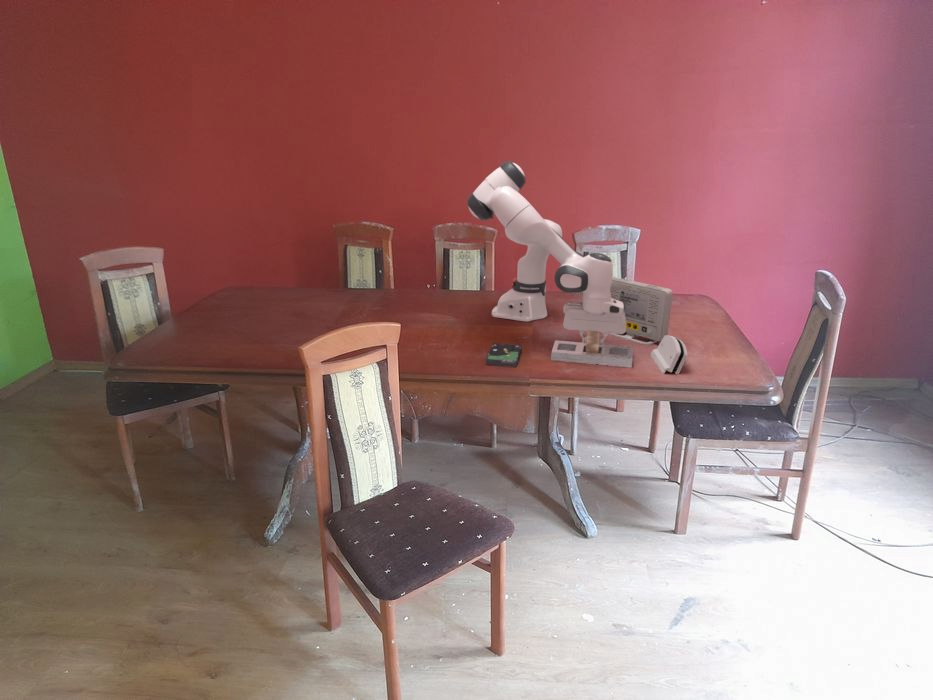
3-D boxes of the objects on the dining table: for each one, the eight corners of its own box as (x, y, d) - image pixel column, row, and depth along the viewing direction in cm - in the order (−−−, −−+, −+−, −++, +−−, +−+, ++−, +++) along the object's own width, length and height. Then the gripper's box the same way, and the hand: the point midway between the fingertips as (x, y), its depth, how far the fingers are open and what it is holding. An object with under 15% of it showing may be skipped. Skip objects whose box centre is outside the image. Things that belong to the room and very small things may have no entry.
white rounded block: (649, 354, 204) (663, 328, 200) (662, 358, 204) (676, 332, 200) (662, 374, 188) (677, 346, 185) (676, 379, 189) (691, 351, 185)
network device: (669, 342, 214) (676, 288, 206) (657, 348, 208) (664, 293, 201) (608, 325, 231) (613, 274, 223) (595, 330, 225) (599, 279, 218)
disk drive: (492, 350, 209) (485, 366, 196) (492, 342, 208) (485, 358, 195) (521, 352, 207) (517, 368, 194) (521, 344, 206) (517, 360, 193)
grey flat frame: (551, 360, 199) (551, 351, 198) (554, 348, 209) (555, 340, 208) (631, 367, 193) (632, 359, 192) (631, 355, 203) (632, 346, 202)
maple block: (585, 356, 199) (587, 331, 196) (586, 352, 203) (588, 327, 199) (597, 357, 198) (599, 332, 195) (598, 353, 202) (600, 328, 198)
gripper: (562, 304, 193) (560, 344, 199) (628, 309, 189) (623, 349, 194) (564, 298, 199) (562, 337, 204) (628, 303, 194) (624, 342, 200)
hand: (592, 343), depth 199 cm, fingers closed on maple block, 4 cm apart
